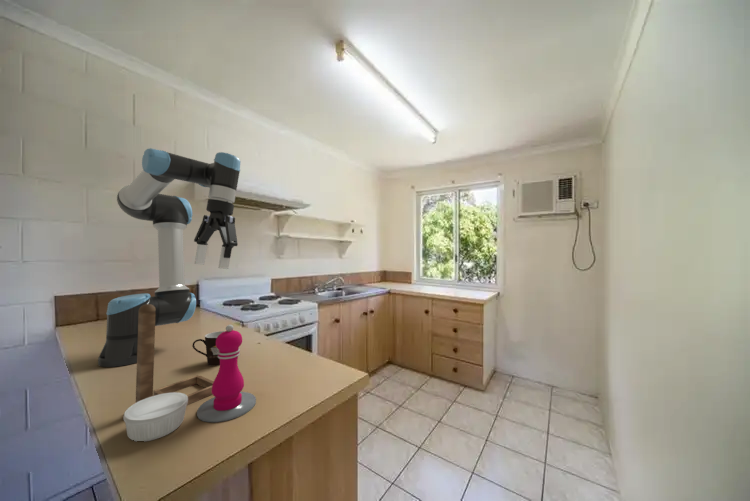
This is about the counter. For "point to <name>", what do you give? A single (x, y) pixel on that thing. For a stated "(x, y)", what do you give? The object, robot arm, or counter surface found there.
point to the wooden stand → (147, 363)
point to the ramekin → (155, 416)
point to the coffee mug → (210, 348)
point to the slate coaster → (212, 415)
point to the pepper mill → (228, 371)
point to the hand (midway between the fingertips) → (210, 266)
